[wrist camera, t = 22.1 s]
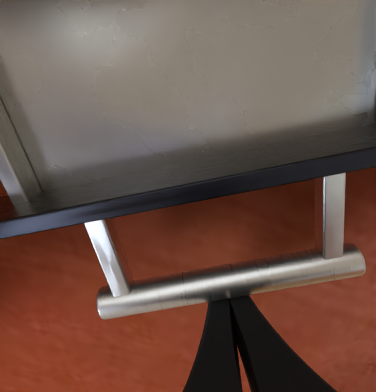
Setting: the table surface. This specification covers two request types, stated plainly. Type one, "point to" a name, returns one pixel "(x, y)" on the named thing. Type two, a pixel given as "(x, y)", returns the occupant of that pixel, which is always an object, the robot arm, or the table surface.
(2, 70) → the drawer
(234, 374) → the robot arm
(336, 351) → the table surface
